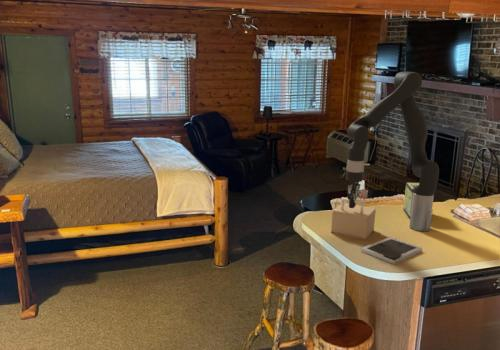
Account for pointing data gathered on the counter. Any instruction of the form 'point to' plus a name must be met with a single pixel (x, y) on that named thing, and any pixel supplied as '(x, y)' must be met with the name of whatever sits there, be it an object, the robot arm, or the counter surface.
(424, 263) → the counter surface
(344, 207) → the lid flap
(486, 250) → the counter surface
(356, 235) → the carton
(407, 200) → the protein box
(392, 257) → the picture frame
